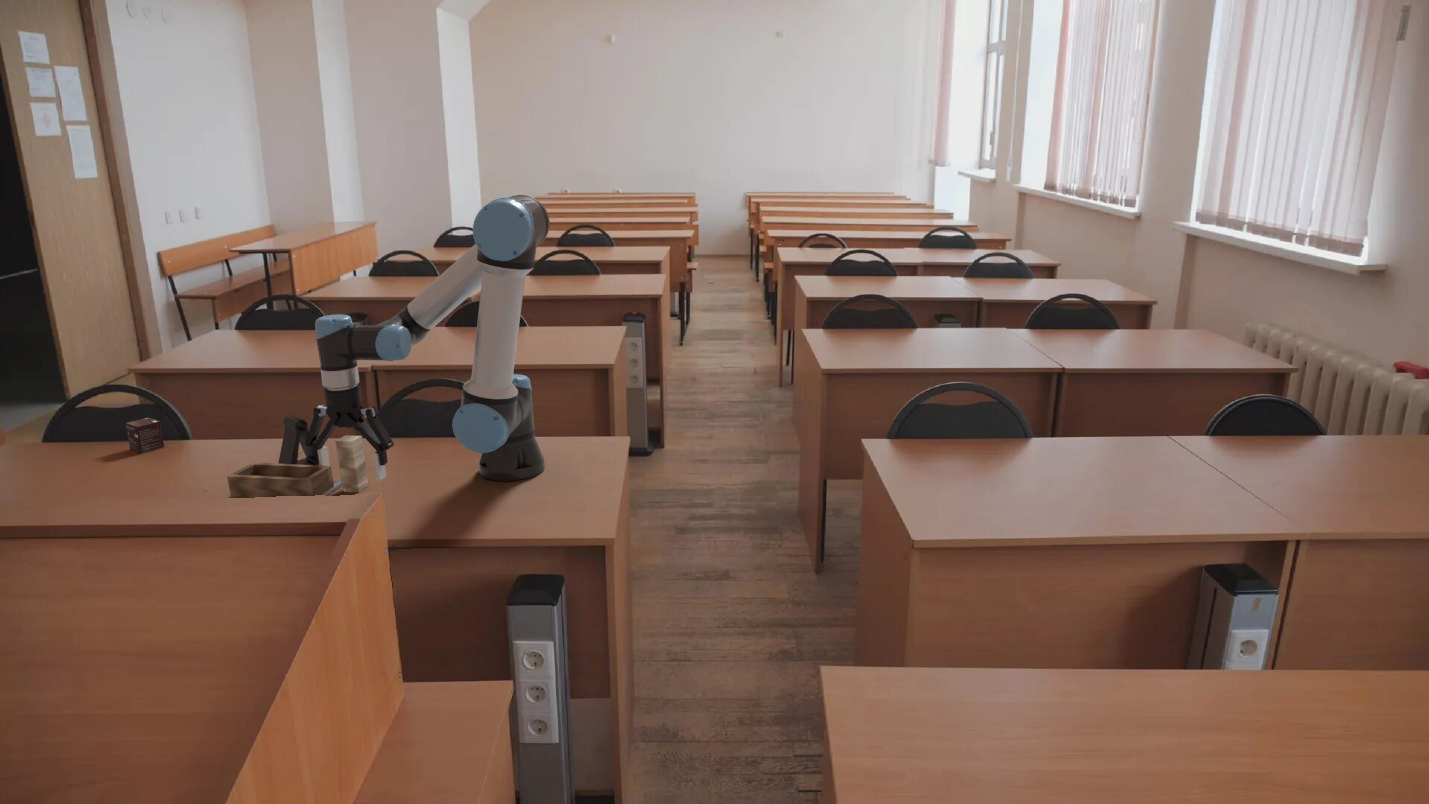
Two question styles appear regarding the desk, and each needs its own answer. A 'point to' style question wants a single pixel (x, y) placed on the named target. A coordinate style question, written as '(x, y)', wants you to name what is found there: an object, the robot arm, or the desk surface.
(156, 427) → the box
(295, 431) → the black phone stand
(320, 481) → the wooden tray
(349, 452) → the birch block
